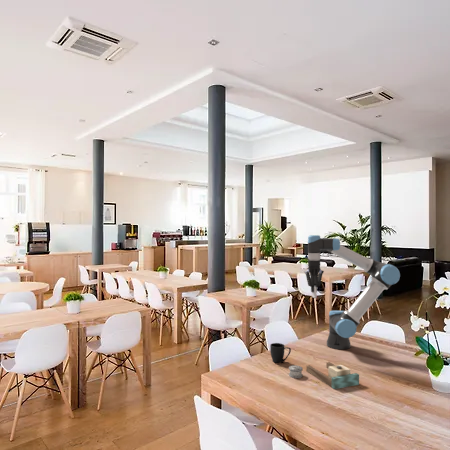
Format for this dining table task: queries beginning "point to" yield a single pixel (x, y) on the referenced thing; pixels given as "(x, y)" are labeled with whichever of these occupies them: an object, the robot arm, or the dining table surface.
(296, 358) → the dining table surface
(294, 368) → the gray yo-yo
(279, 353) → the mug
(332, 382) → the channel
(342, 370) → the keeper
